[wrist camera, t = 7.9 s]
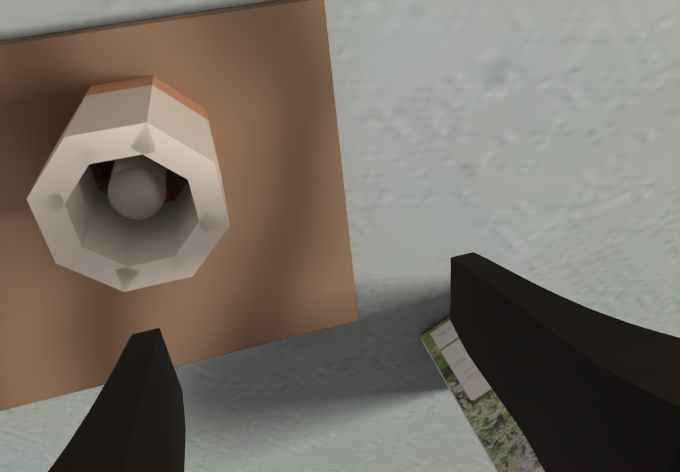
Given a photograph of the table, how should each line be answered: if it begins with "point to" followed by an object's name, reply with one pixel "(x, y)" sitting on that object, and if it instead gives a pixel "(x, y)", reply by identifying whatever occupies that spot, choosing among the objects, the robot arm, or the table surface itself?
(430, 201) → the table surface
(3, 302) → the pin board
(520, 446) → the syrup box
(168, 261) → the sleeve
